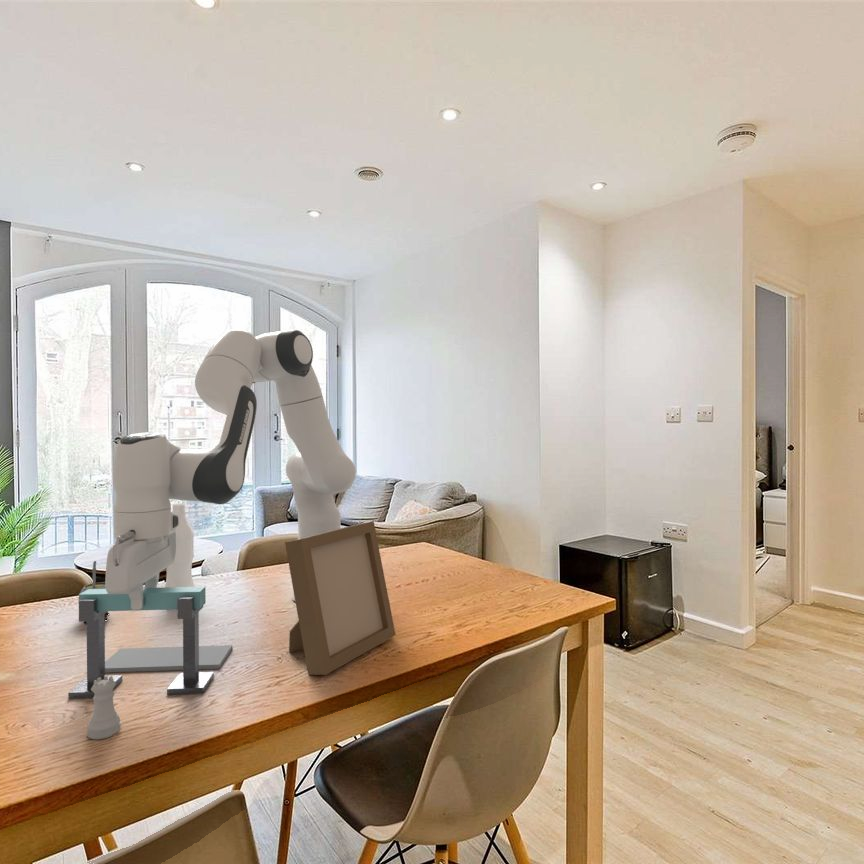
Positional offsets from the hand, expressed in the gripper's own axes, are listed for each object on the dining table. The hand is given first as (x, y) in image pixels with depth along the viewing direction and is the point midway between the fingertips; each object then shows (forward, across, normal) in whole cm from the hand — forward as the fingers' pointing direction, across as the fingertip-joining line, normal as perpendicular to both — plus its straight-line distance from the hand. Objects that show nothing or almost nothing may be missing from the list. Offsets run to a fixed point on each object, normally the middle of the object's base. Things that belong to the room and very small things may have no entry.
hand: (143, 604), depth 97 cm
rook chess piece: (+15, -14, 0) cm, 21 cm away
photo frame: (+15, +13, -32) cm, 38 cm away
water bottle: (+15, +48, +11) cm, 51 cm away
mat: (+15, +11, 0) cm, 18 cm away
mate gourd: (+15, +35, +25) cm, 46 cm away
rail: (+1, 0, 0) cm, 1 cm away
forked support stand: (+15, 0, 0) cm, 15 cm away
